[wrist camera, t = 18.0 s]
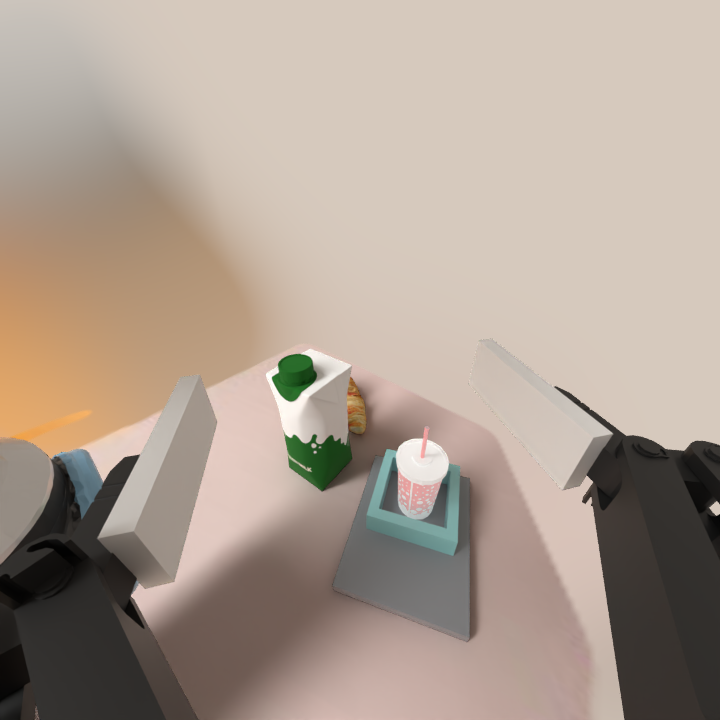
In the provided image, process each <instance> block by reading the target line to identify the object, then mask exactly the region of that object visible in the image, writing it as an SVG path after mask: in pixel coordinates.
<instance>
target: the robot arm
mask: <svg viewBox="0 0 720 720" xmlns="http://www.w3.org/2000/svg"><path fill="white" fill-rule="evenodd" d="M468 384H469V385H470V387H471V388H472V389H473V390H474V391H475V392H476V393H477V395H478V396H479V397H480V398H481V399H482V400H483V401H484V402H485V404H486V405H488V407H489V408H490V409H491V410H492V411H493V413H494V414H495V415H496V416H497V417H498V418H499V419H500V420H501V422H502V423H503V424H504V425H505V426H506V427H507V428H508V429H509V431H510V432H511V433H512V434H513V435H514V436H515V438H516V439H517V440H518V441H519V442H520V443H521V444H522V445H523V447H524V448H525V449H526V450H527V451H528V452H529V453H530V454H531V456H532V457H533V458H534V459H535V460H536V461H537V462H538V464H539V465H540V466H541V467H542V468H543V469H544V470H545V471H546V472H547V473H548V475H549V476H550V477H551V478H552V479H553V481H555V482H556V484H557V485H558V486H559V487H560V488H561V489H562V490H565V489H570V488H573V487H578V486H580V485H581V483H582V482H583V480H584V479H585V477H586V475H587V476H588V477H589V478H590V479H591V480H592V481H593V484H592V485H591V486H590V488H589V490H588V491H587V492H586V494H585V495H584V497H583V500H582V502H583V503H585V504H586V502H587V501H588V500H589V498H590V497H592V504H591V506H593V509H594V517H595V523H596V530H597V537H598V544H599V551H600V557H601V564H602V570H603V578H604V584H605V591H606V597H607V605H608V611H609V618H610V625H611V632H612V638H613V645H614V651H615V659H616V664H617V672H618V679H619V685H620V692H621V699H622V705H623V712H624V719H625V720H720V514H719V515H718V516H716V515H715V514H714V513H712V511H711V510H710V509H709V507H710V506H711V505H713V504H714V503H715V502H716V501H718V502H719V504H720V445H717V444H714V443H710V442H706V441H695V442H692V443H691V444H690V445H689V446H688V447H687V449H686V450H685V451H679V450H668V449H665V448H663V447H662V446H660V445H659V444H657V443H655V442H654V441H652V440H649V439H646V438H644V437H639V436H634V435H632V436H626V435H624V434H623V433H622V432H620V431H619V430H618V429H616V428H615V427H614V426H613V425H611V424H610V423H609V422H607V421H606V420H605V419H603V418H602V417H601V416H599V415H598V414H597V413H595V412H594V411H592V410H590V408H589V407H587V406H586V405H585V404H584V403H581V402H580V400H578V399H577V398H576V397H574V396H573V395H572V394H570V393H569V392H567V391H565V390H563V389H560V388H558V387H556V386H555V387H553V386H552V385H551V384H549V383H548V382H547V381H545V380H544V379H543V378H541V377H540V376H539V375H538V374H536V373H535V372H534V371H533V370H531V369H530V368H529V367H528V366H526V365H525V364H524V363H522V362H521V361H520V360H519V359H517V358H516V357H515V356H513V355H512V354H511V353H510V352H508V351H507V350H506V349H504V348H503V347H502V346H501V345H499V344H498V343H497V342H495V341H494V340H493V339H486V340H479V341H478V345H477V349H476V354H475V358H474V362H473V366H472V370H471V375H470V379H469V383H468ZM216 425H217V419H216V417H215V414H214V411H213V409H212V406H211V403H210V401H209V398H208V395H207V393H206V390H205V387H204V384H203V382H202V379H201V376H200V375H193V376H186V377H180V379H179V381H178V383H177V385H176V387H175V389H174V390H173V393H172V394H171V396H170V398H169V400H168V402H167V404H166V406H165V408H164V410H163V412H162V414H161V416H160V418H159V420H158V422H157V423H156V425H155V427H154V429H153V431H152V433H151V435H150V437H149V439H148V441H147V443H146V445H145V447H144V449H143V451H142V453H141V455H135V456H129V457H124V458H123V459H122V460H121V461H120V462H119V463H118V464H117V465H116V466H115V467H114V468H113V469H112V470H111V471H110V473H109V474H108V476H107V478H106V479H105V481H104V483H103V481H102V479H101V477H100V474H99V472H98V470H97V468H96V466H95V464H94V462H93V460H92V458H91V456H90V454H89V452H87V451H86V450H83V449H76V450H72V451H69V452H61V453H59V454H57V455H54V456H53V458H52V459H50V458H49V456H48V455H47V454H46V453H45V452H44V451H42V450H41V449H40V448H38V447H37V446H36V445H34V444H32V443H30V442H27V441H25V440H20V439H15V438H4V437H0V720H34V719H35V708H36V706H37V710H38V714H39V719H40V720H198V718H197V717H196V715H195V713H194V711H193V709H192V707H191V705H190V703H189V702H188V700H187V698H186V696H185V694H184V692H183V690H182V688H181V687H180V685H179V683H178V681H177V679H176V677H175V675H174V673H173V672H172V670H171V668H170V666H169V664H168V662H167V660H166V658H165V657H164V655H163V653H162V651H161V649H160V647H159V645H158V643H157V642H156V640H155V638H154V636H153V634H152V632H151V630H150V628H149V627H148V625H147V623H146V621H145V619H144V617H143V615H142V613H141V612H140V610H139V608H138V606H137V604H136V602H135V600H134V599H133V598H132V597H131V595H132V594H133V592H134V591H135V590H136V588H137V586H138V584H139V583H140V584H141V585H142V586H143V587H144V588H145V589H146V588H150V587H154V586H159V585H163V584H167V583H171V582H174V580H175V577H176V573H177V569H178V566H179V562H180V558H181V555H182V551H183V547H184V544H185V540H186V536H187V532H188V529H189V525H190V521H191V518H192V514H193V510H194V507H195V503H196V499H197V496H198V492H199V488H200V484H201V481H202V477H203V473H204V470H205V466H206V462H207V459H208V455H209V451H210V448H211V444H212V440H213V436H214V433H215V429H216Z"/></svg>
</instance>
